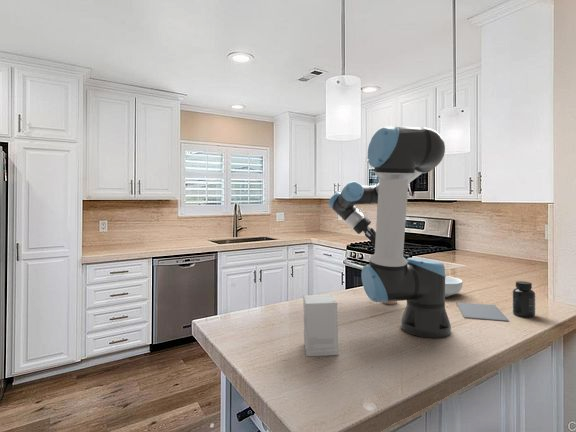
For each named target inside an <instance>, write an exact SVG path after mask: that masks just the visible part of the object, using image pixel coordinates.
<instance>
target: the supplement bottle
mask: <svg viewBox="0 0 576 432" xmlns="http://www.w3.org/2000/svg"><path fill="white" fill-rule="evenodd" d="M532 285H533V284H532V282H530V281H524V280H520V281H519V280H516V281H515V287H516V288H513V290H512V314H513V315H515V316H516V317H520V318H525V319H526V318H527V319H528V318H530V319H531V318H534V317H536V293H535V291H534V290H533V286H532Z"/></svg>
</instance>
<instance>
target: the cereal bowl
mask: <svg viewBox="0 0 576 432" xmlns="http://www.w3.org/2000/svg"><path fill="white" fill-rule="evenodd" d="M445 276H446V277H445V298H447V297H451V296H453V295H456V294H459V293H460V292H461V290H462V288H463V280H462V279H460V278H458V277H455V276H449V275H445Z"/></svg>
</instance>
